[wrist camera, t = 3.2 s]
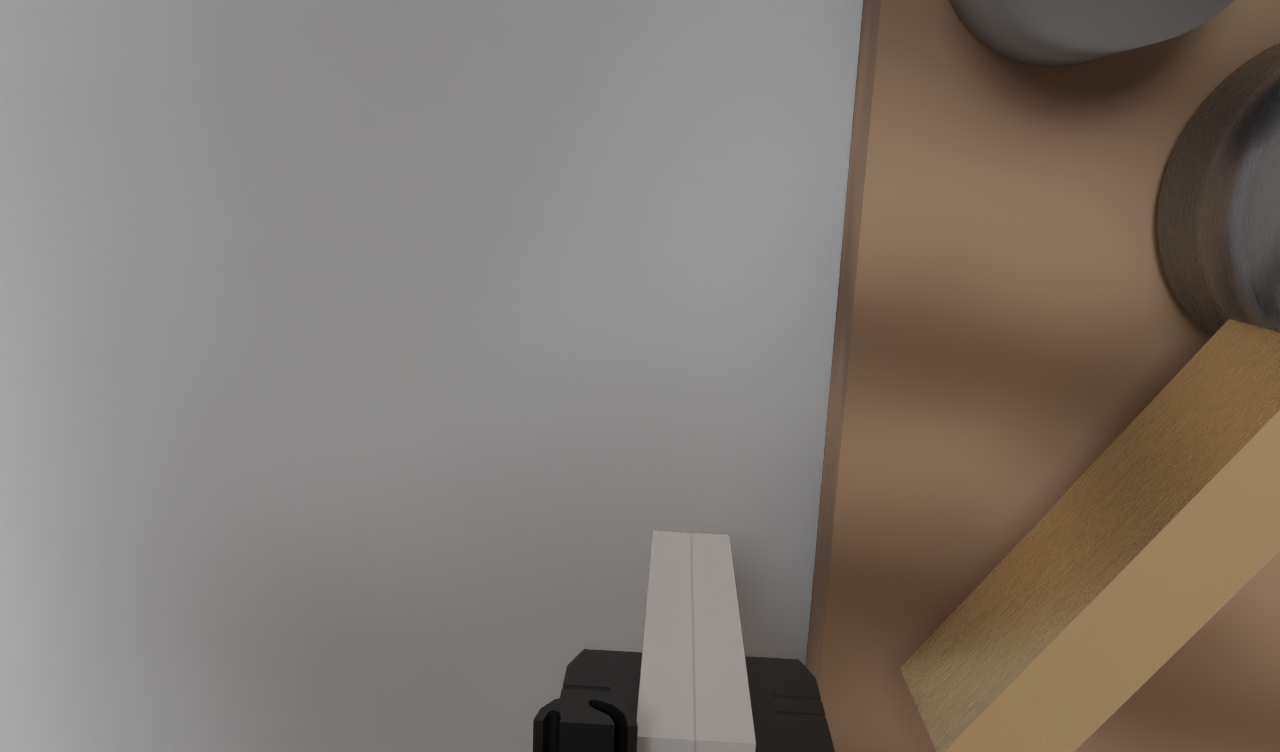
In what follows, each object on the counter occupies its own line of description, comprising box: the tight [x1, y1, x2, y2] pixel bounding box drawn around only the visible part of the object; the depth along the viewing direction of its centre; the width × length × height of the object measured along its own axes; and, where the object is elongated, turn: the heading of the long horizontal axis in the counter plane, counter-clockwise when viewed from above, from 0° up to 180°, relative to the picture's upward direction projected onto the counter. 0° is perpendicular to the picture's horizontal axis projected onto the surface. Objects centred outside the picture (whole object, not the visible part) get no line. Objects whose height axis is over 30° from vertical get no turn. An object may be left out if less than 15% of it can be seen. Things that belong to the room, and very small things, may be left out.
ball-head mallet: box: [900, 42, 1280, 752], centre depth 17 cm, size 16×7×5 cm, turn 143°
